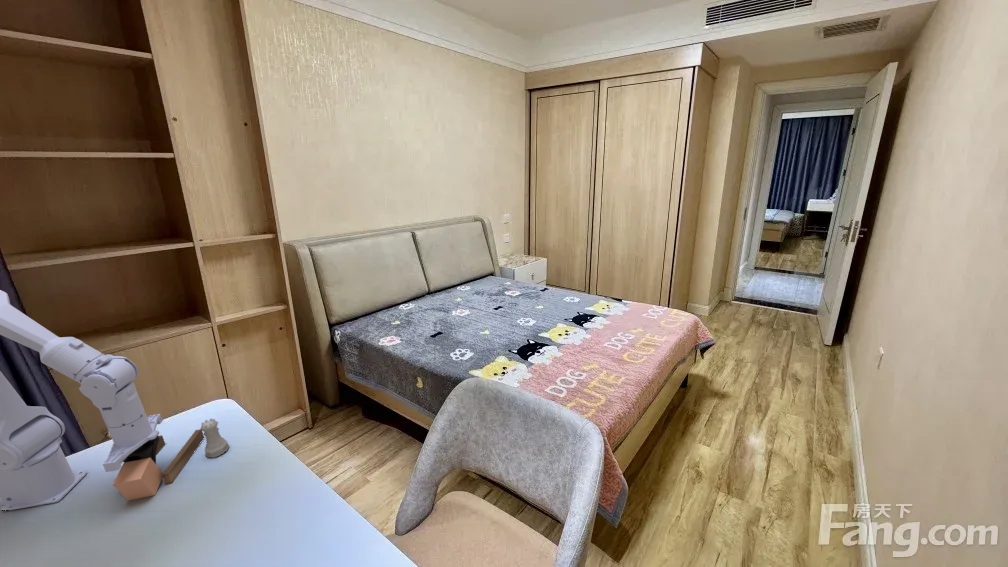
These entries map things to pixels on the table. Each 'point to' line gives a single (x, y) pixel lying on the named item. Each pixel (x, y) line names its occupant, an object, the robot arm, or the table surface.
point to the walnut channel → (180, 456)
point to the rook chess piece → (213, 439)
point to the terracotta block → (138, 479)
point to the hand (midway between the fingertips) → (148, 473)
